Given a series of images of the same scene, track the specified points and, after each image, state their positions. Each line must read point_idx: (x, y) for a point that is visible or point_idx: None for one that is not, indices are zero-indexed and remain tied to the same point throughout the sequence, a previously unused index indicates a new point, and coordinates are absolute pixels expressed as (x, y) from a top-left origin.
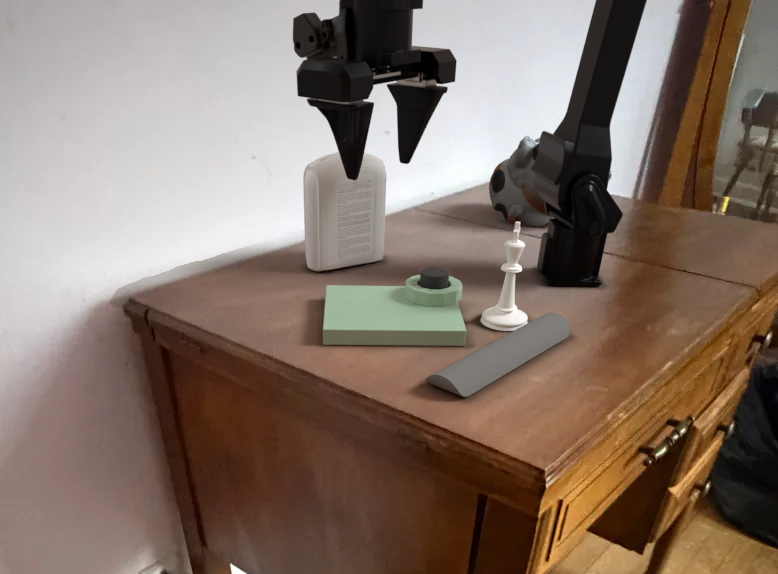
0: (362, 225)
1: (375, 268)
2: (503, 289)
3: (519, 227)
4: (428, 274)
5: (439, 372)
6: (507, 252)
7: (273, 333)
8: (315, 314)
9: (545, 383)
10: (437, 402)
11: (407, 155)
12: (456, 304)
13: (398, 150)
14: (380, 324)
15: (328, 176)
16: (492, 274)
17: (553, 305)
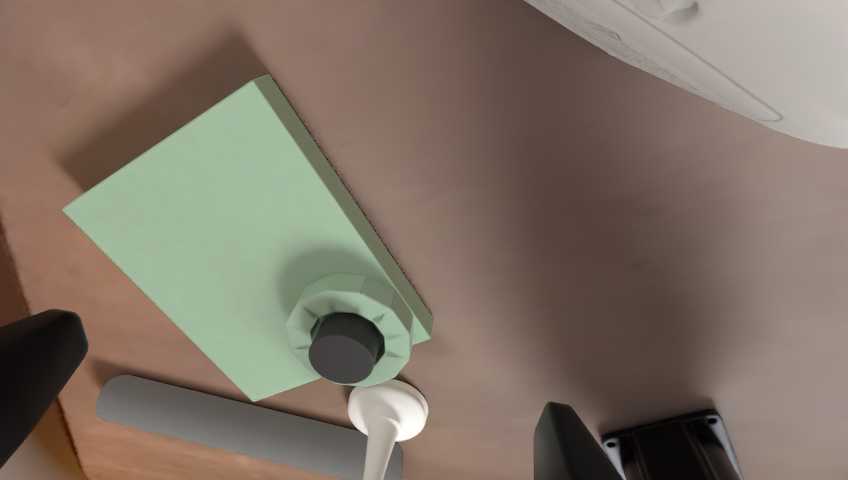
0: (593, 38)
1: (568, 73)
2: (367, 454)
3: None
4: (315, 355)
5: (105, 406)
6: None
7: (34, 70)
8: (180, 98)
9: (240, 468)
10: (100, 391)
11: (540, 472)
12: None
13: (562, 447)
14: (167, 288)
15: None
16: (637, 343)
17: (505, 448)
